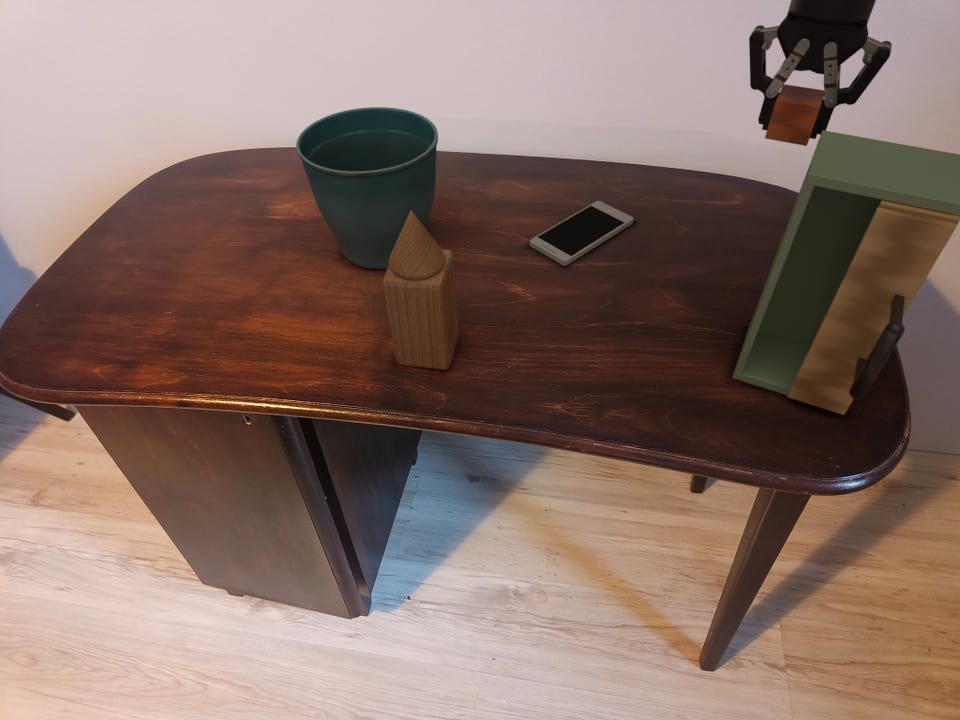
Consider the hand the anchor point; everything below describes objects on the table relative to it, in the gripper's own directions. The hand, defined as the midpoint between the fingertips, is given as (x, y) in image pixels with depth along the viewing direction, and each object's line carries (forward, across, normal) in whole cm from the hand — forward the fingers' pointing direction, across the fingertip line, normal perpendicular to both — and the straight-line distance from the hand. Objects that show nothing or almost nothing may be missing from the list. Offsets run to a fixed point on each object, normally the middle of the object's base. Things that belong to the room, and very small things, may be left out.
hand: (789, 131), depth 73 cm
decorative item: (+20, -31, -32) cm, 49 cm away
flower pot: (+20, -48, -16) cm, 55 cm away
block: (0, 0, 0) cm, 0 cm away
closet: (+20, +9, -16) cm, 27 cm away
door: (+19, +12, -24) cm, 33 cm away
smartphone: (+20, -23, -1) cm, 31 cm away
